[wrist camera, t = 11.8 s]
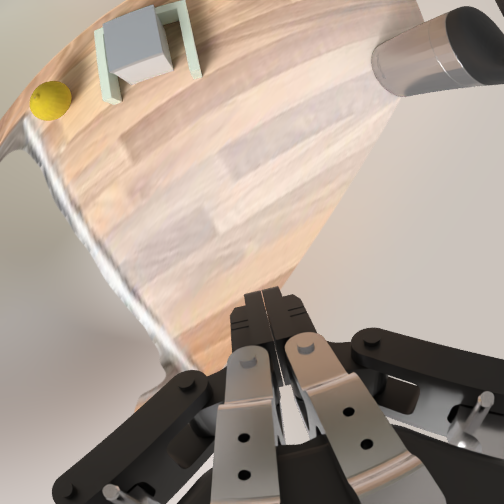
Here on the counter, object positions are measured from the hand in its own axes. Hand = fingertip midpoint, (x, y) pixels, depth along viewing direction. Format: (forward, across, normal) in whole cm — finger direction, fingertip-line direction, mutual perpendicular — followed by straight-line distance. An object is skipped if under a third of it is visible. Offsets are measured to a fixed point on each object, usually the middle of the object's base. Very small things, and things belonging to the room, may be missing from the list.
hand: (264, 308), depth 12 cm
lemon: (+27, +21, -21) cm, 40 cm away
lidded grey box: (+27, +7, -23) cm, 36 cm away
